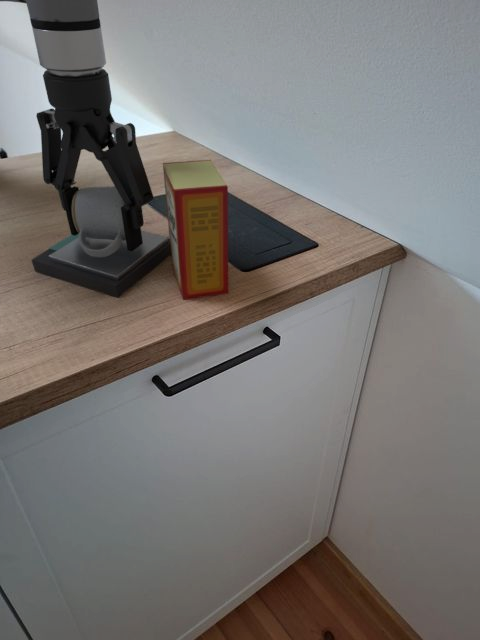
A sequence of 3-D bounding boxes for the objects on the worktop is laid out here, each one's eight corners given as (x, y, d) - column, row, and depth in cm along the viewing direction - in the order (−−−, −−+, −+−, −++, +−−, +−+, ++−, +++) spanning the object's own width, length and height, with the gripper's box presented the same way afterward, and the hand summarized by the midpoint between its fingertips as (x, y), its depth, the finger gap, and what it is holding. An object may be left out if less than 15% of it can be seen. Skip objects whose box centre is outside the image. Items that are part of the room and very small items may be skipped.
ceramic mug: (90, 223, 77) (80, 175, 72) (142, 226, 77) (136, 178, 72) (69, 259, 69) (55, 207, 64) (127, 261, 69) (118, 210, 64)
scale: (34, 271, 72) (30, 258, 71) (100, 230, 83) (97, 218, 82) (118, 297, 68) (115, 284, 67) (175, 251, 79) (174, 238, 77)
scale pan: (49, 260, 71) (48, 255, 71) (106, 225, 80) (105, 220, 80) (117, 281, 68) (116, 276, 67) (168, 241, 77) (168, 237, 76)
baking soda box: (172, 265, 75) (162, 160, 65) (213, 260, 77) (210, 157, 66) (183, 299, 68) (174, 187, 58) (228, 293, 70) (227, 183, 60)
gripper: (171, 75, 58) (184, 245, 72) (27, 53, 64) (65, 213, 79) (133, 87, 53) (155, 268, 67) (-20, 63, 59) (30, 232, 73)
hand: (106, 239), depth 73 cm, fingers closed on ceramic mug, 9 cm apart
